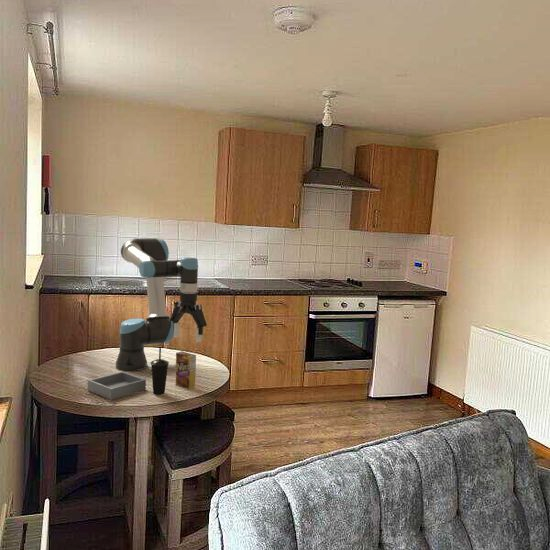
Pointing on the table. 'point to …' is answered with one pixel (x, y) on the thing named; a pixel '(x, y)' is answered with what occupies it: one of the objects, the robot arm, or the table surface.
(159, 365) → the drinking cup
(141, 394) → the table surface
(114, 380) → the tray
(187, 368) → the candy box
